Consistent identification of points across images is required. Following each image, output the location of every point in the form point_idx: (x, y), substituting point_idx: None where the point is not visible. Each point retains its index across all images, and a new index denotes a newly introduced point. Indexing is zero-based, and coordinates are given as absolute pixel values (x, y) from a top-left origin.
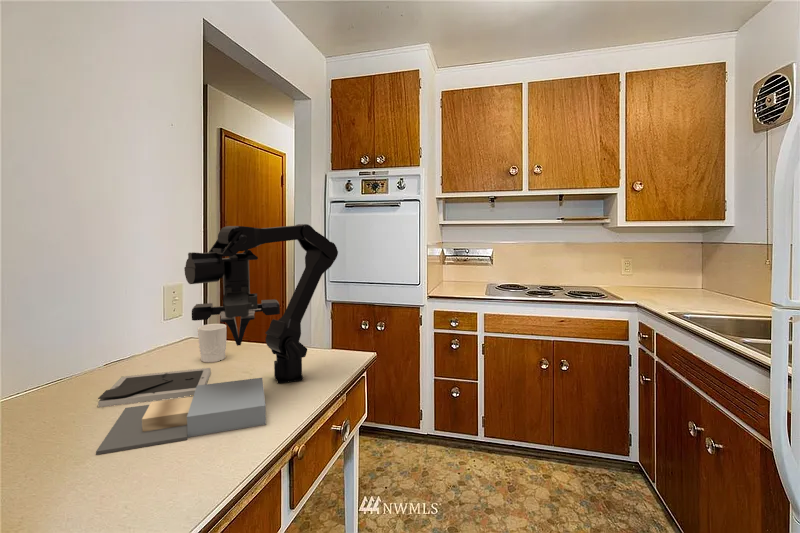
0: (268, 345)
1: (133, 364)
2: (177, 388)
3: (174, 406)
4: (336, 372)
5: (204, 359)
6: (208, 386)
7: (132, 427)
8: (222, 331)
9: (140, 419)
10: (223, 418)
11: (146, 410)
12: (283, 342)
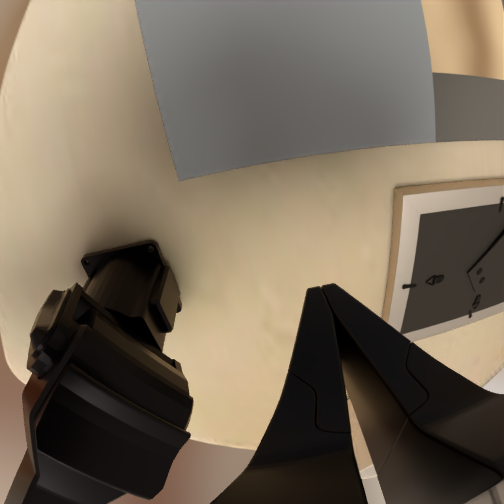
0: (176, 374)
1: (489, 363)
2: (462, 217)
3: (456, 13)
4: (24, 299)
5: None
6: (397, 116)
7: None
8: (365, 459)
9: None
10: None
11: (502, 103)
12: (66, 346)
